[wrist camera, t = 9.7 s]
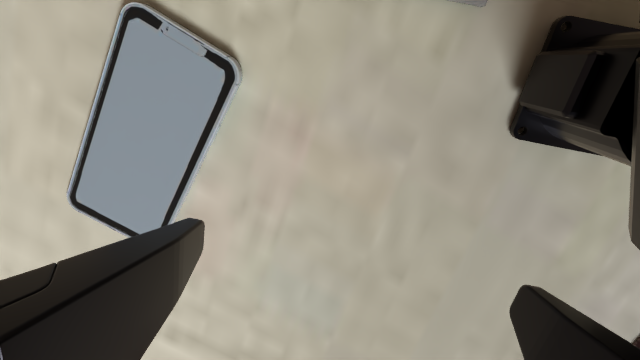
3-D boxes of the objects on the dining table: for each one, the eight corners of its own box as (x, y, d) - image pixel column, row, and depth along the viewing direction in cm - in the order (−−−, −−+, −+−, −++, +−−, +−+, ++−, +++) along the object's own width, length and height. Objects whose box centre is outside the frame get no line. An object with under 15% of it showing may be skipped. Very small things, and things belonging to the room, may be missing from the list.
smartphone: (62, 203, 23) (124, -7, 17) (73, 198, 24) (135, -4, 18) (158, 253, 24) (245, 67, 18) (165, 246, 25) (250, 67, 19)
